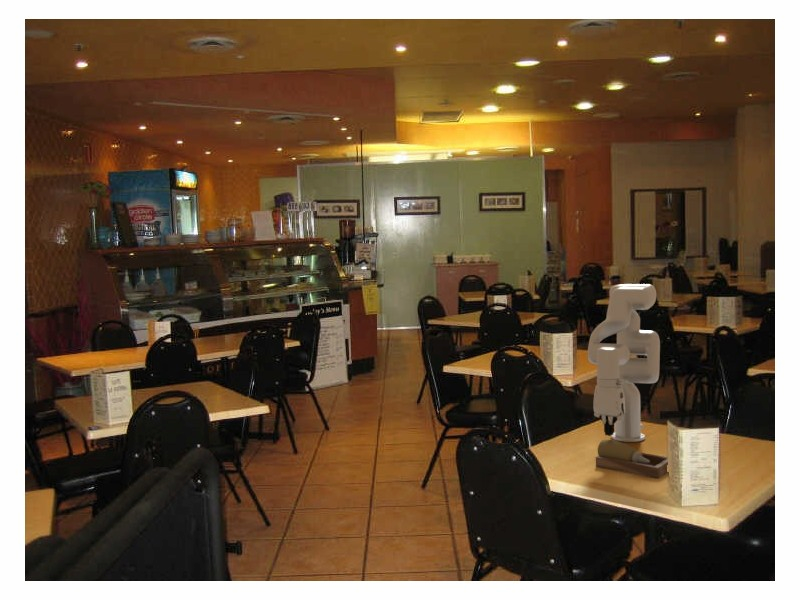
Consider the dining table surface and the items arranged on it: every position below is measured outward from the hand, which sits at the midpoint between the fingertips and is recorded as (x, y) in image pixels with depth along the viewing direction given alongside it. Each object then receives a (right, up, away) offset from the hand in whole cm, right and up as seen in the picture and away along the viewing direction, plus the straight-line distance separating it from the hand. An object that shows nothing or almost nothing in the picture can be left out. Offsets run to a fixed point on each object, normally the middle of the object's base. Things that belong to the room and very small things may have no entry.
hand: (609, 434), depth 262 cm
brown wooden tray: (+7, -10, -5) cm, 14 cm away
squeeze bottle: (-2, -5, +3) cm, 6 cm away
